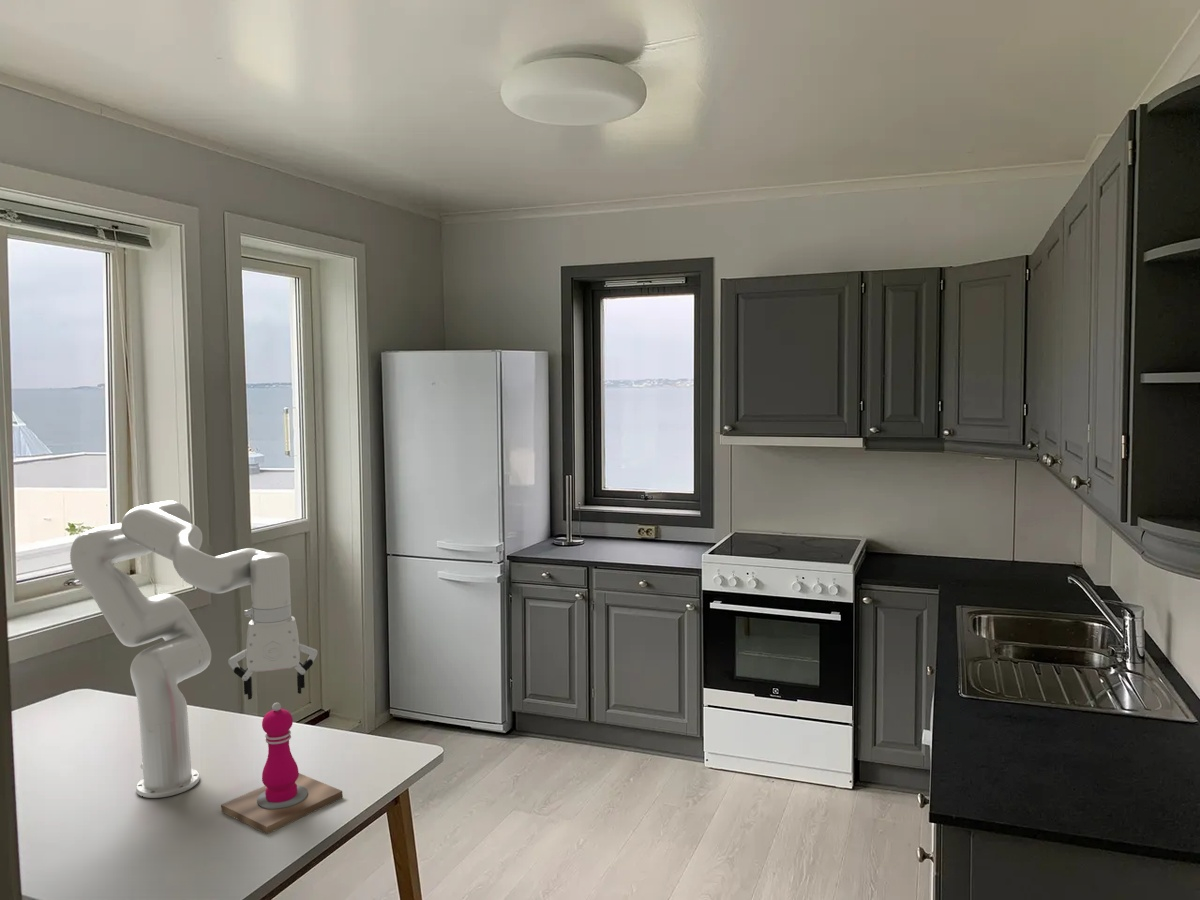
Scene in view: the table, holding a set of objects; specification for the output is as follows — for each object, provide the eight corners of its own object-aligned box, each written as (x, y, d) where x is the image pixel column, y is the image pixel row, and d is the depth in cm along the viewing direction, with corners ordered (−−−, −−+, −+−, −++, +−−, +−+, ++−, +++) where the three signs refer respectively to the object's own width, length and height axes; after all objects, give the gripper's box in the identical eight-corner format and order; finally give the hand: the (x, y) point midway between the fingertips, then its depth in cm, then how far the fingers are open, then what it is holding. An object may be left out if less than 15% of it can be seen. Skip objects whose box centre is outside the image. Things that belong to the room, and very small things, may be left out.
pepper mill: (288, 805, 184) (282, 710, 182) (256, 802, 185) (250, 708, 183) (306, 788, 191) (301, 697, 189) (275, 786, 192) (270, 695, 190)
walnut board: (221, 811, 186) (221, 802, 185) (296, 778, 200) (296, 770, 200) (267, 834, 176) (266, 824, 176) (342, 797, 191) (342, 789, 190)
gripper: (224, 622, 178) (228, 706, 180) (316, 614, 184) (319, 695, 185) (227, 612, 185) (231, 693, 187) (315, 605, 191) (318, 683, 192)
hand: (275, 694), depth 186 cm, fingers open, 9 cm apart
